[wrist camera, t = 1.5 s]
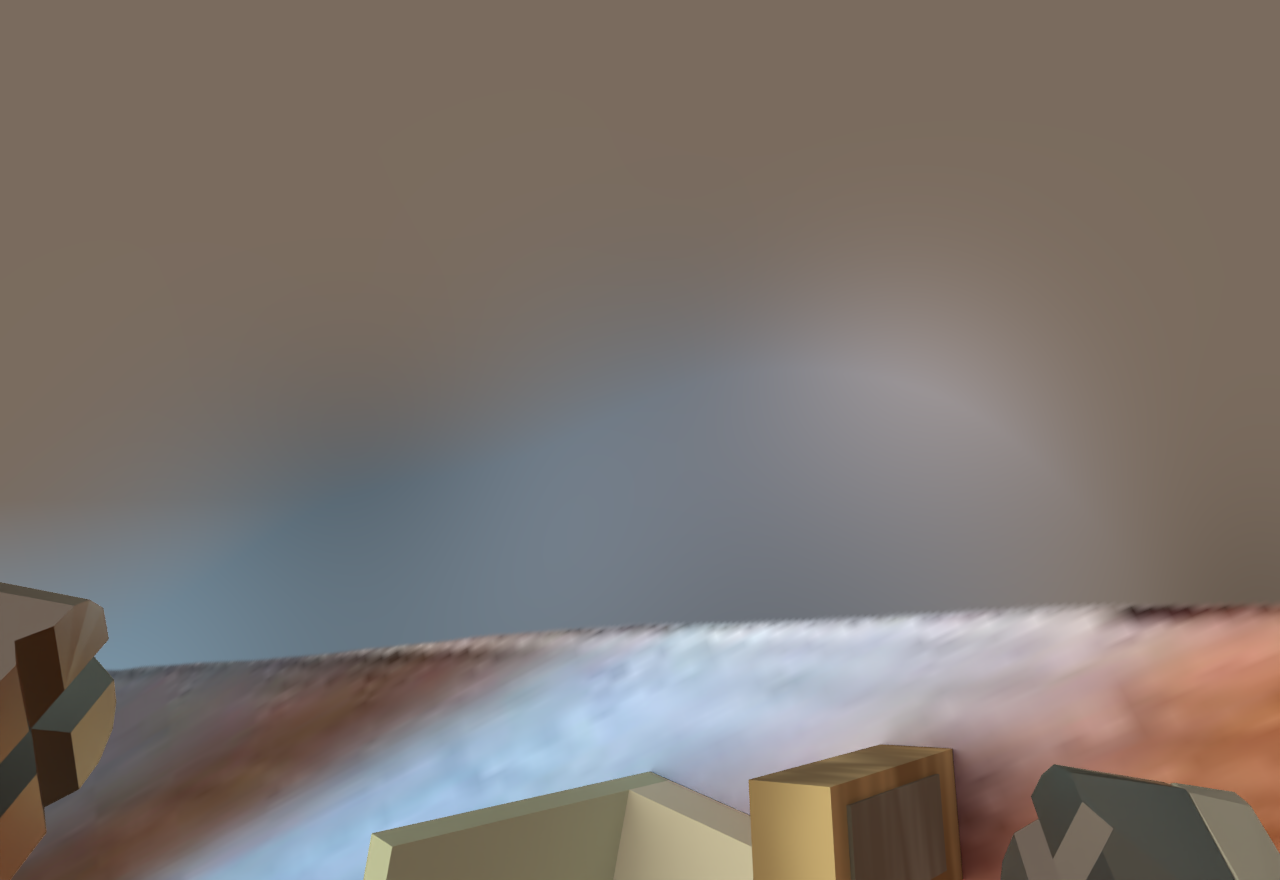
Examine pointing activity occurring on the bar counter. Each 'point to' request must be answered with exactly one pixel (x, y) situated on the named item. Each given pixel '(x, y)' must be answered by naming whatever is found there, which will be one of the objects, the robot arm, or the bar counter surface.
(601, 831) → the cream l-shaped bookend
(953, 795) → the small box
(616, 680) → the bar counter surface
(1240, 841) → the robot arm
